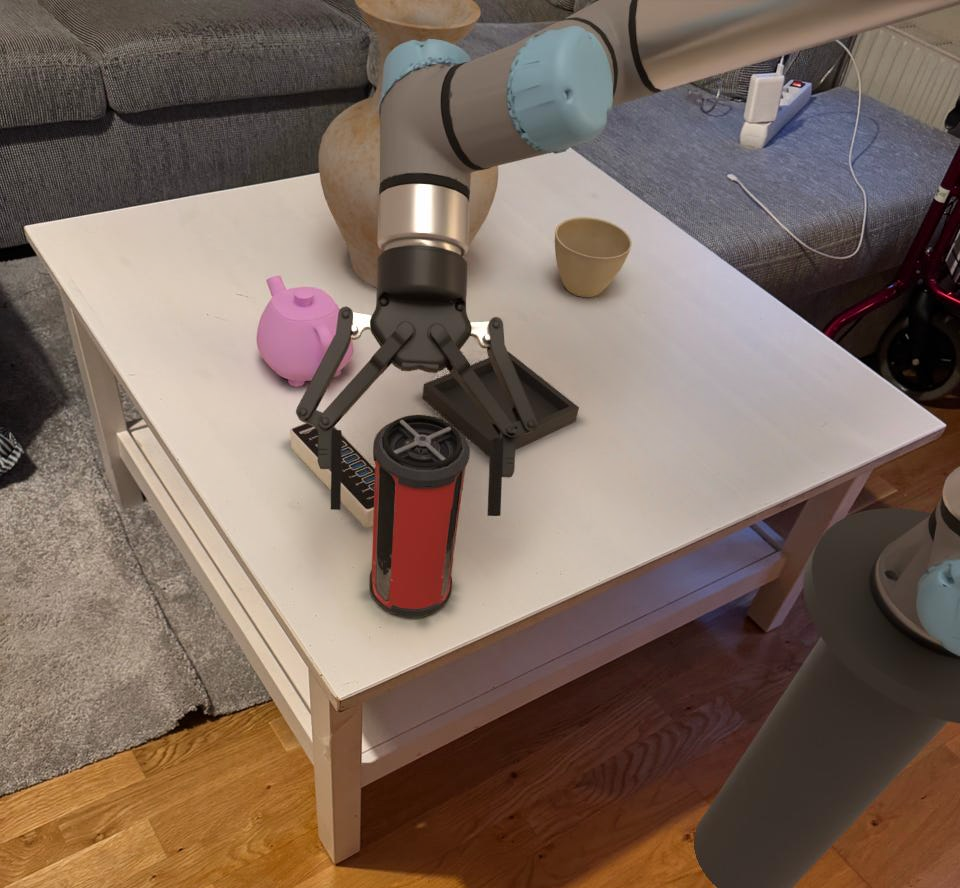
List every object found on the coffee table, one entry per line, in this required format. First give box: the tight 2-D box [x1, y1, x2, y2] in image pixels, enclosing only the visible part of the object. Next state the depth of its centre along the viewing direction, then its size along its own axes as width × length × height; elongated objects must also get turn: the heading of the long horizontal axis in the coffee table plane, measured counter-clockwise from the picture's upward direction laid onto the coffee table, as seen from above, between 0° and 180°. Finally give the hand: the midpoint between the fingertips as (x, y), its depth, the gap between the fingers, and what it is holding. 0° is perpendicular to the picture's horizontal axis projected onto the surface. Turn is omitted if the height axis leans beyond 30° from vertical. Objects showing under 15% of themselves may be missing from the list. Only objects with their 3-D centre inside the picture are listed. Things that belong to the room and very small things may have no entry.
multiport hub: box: [289, 422, 375, 528], centre depth 94 cm, size 4×14×2 cm, turn 38°
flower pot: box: [554, 216, 633, 298], centre depth 120 cm, size 10×10×7 cm
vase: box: [317, 0, 499, 289], centre depth 110 cm, size 22×22×30 cm
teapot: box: [256, 274, 354, 387], centre depth 102 cm, size 10×15×9 cm
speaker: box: [368, 414, 471, 618], centre depth 79 cm, size 8×8×18 cm
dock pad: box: [422, 351, 580, 458], centre depth 104 cm, size 13×13×2 cm
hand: (415, 513), depth 78 cm, fingers open, 13 cm apart
